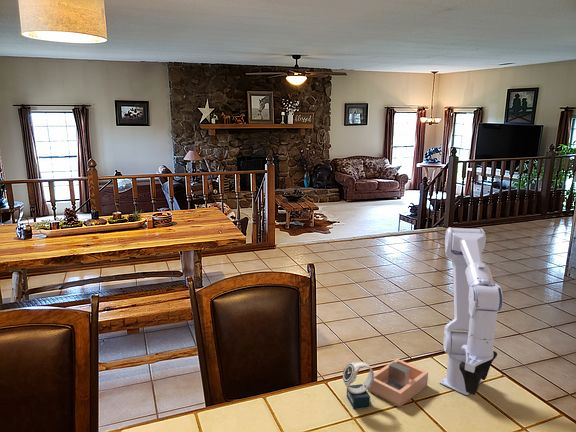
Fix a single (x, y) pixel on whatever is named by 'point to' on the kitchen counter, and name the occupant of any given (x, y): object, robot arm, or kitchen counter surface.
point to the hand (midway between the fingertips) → (475, 385)
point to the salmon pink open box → (400, 397)
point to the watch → (357, 392)
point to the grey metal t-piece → (398, 376)
